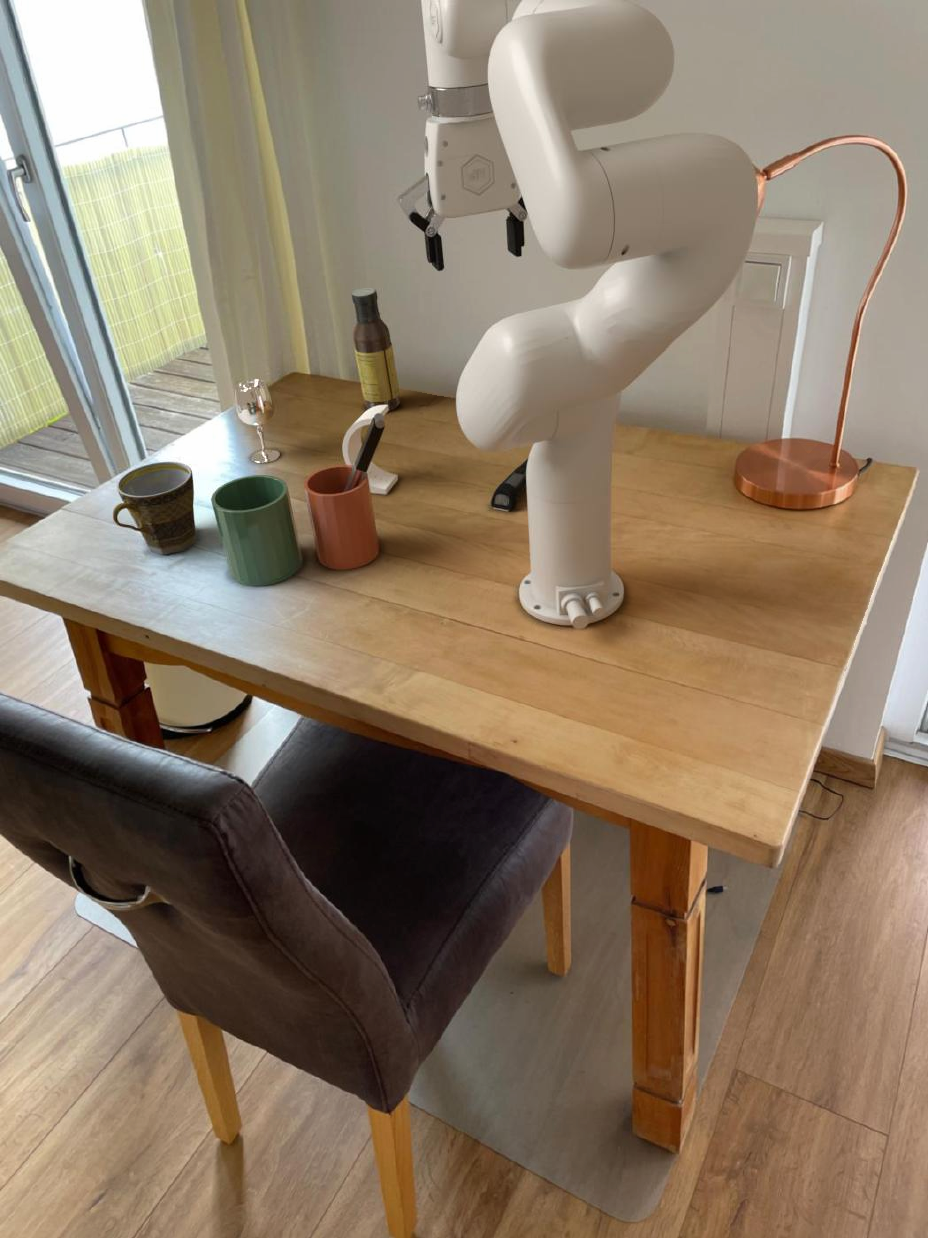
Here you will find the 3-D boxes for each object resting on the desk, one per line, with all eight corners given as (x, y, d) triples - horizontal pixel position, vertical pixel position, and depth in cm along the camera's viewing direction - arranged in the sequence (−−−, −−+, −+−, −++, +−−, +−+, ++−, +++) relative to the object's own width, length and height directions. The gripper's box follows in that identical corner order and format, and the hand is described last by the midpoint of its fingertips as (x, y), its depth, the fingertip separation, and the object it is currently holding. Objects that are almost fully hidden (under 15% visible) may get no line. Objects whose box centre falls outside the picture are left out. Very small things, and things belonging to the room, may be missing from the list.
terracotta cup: (382, 564, 131) (370, 490, 125) (319, 574, 131) (304, 500, 124) (376, 532, 138) (365, 461, 131) (316, 542, 137) (302, 470, 131)
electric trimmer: (557, 464, 150) (556, 444, 148) (513, 512, 139) (512, 492, 137) (534, 460, 152) (533, 441, 150) (488, 508, 141) (487, 488, 139)
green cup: (304, 579, 130) (288, 505, 123) (229, 591, 129) (209, 517, 123) (301, 541, 138) (286, 470, 131) (230, 552, 137) (212, 481, 130)
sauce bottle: (387, 395, 176) (372, 280, 164) (407, 405, 171) (393, 288, 160) (356, 406, 173) (338, 291, 161) (376, 417, 168) (359, 299, 157)
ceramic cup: (172, 518, 146) (154, 456, 140) (223, 532, 141) (207, 468, 136) (105, 562, 137) (83, 498, 131) (157, 579, 133) (137, 513, 127)
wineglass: (241, 463, 158) (224, 392, 151) (257, 447, 163) (242, 377, 156) (274, 466, 157) (258, 394, 150) (289, 449, 161) (275, 378, 154)
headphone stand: (386, 494, 146) (375, 418, 139) (349, 490, 148) (336, 415, 141) (398, 479, 150) (388, 404, 143) (361, 475, 152) (349, 402, 145)
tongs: (400, 545, 134) (384, 418, 123) (323, 556, 133) (300, 429, 122) (398, 538, 135) (383, 412, 125) (322, 548, 134) (300, 422, 124)
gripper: (396, 117, 105) (415, 282, 115) (551, 94, 108) (556, 256, 118) (380, 107, 110) (398, 264, 121) (527, 86, 114) (533, 240, 124)
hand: (476, 260), depth 119 cm, fingers open, 9 cm apart
